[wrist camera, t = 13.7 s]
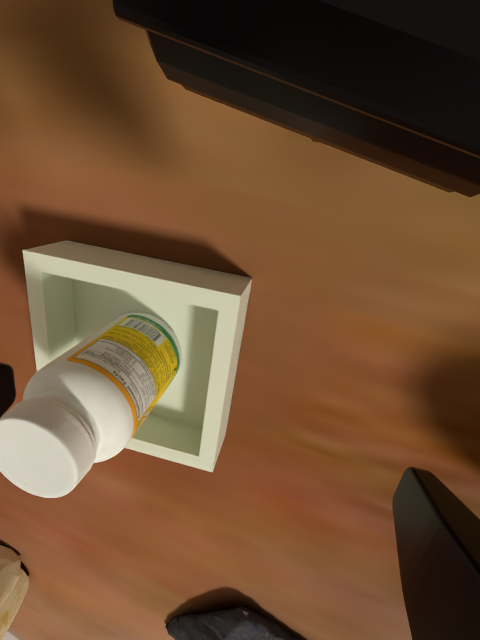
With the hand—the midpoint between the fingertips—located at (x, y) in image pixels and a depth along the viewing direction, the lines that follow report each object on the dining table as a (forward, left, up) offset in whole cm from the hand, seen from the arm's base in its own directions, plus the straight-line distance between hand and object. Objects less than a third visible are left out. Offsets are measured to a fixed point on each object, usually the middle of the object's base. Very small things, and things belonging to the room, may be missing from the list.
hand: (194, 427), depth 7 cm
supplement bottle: (+6, -7, -12) cm, 15 cm away
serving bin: (+6, -7, -13) cm, 16 cm away
